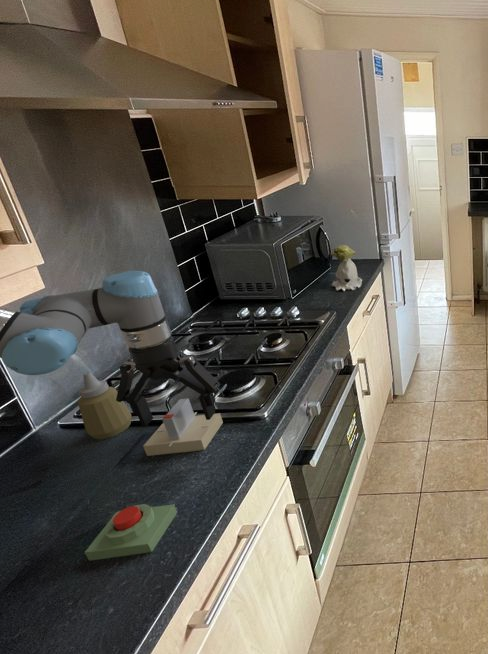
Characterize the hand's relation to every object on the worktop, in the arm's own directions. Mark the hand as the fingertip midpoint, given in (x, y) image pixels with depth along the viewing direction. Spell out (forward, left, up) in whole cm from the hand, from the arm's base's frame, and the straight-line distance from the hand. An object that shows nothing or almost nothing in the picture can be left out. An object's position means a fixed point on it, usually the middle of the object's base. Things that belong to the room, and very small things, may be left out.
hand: (179, 419), depth 98 cm
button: (+4, -25, -2) cm, 25 cm away
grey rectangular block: (0, 0, -3) cm, 3 cm away
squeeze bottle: (-18, +4, -6) cm, 19 cm away
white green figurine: (+19, +89, -6) cm, 91 cm away
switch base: (0, 0, -6) cm, 6 cm away
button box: (+4, -25, -6) cm, 26 cm away
